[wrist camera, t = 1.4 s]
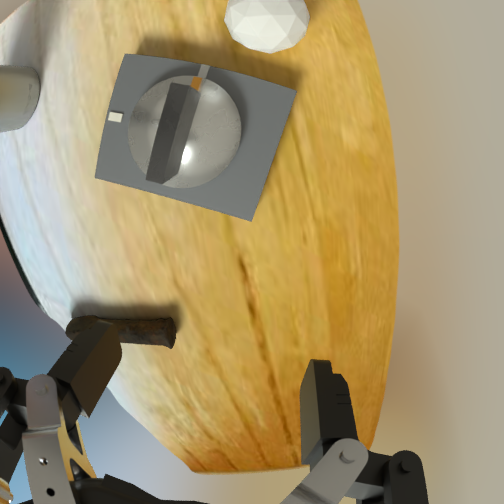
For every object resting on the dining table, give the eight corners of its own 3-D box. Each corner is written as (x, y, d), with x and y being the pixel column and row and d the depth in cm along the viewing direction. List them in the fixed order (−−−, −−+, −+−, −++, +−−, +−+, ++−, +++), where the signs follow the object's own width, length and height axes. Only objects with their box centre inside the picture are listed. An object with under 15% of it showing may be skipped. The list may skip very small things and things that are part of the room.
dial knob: (122, 171, 26) (94, 184, 21) (148, 69, 22) (123, 57, 16) (222, 198, 28) (214, 218, 22) (256, 92, 23) (257, 83, 18)
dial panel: (105, 173, 29) (93, 178, 26) (134, 57, 23) (124, 53, 21) (251, 214, 31) (251, 222, 29) (293, 93, 26) (297, 90, 23)
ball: (254, 23, 24) (250, -32, 16) (319, 43, 23) (327, -17, 15) (214, 55, 23) (200, -8, 15) (285, 78, 22) (288, 7, 14)
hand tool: (174, 313, 38) (166, 334, 33) (179, 334, 39) (172, 356, 35) (67, 304, 38) (54, 321, 34) (75, 324, 39) (63, 341, 35)
